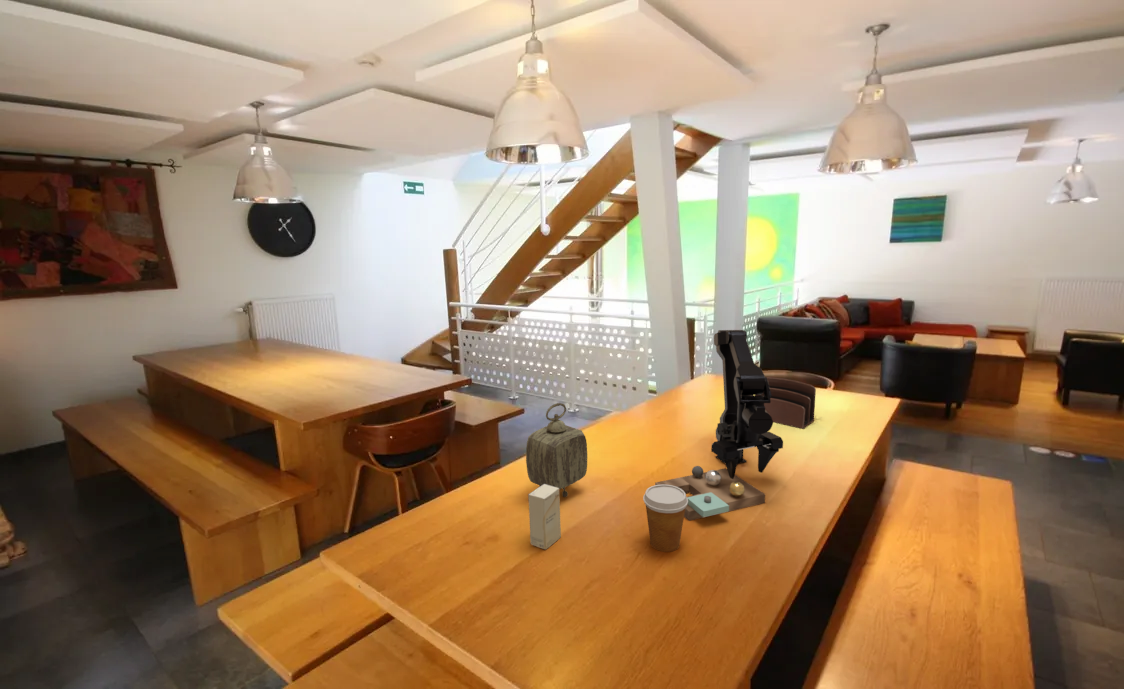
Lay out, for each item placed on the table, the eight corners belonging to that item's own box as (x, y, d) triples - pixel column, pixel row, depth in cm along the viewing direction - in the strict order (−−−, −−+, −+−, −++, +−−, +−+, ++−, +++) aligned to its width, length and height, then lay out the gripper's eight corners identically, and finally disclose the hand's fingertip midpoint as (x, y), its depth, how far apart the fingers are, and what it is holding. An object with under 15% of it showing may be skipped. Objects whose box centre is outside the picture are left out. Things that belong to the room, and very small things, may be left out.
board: (725, 476, 147) (725, 468, 146) (764, 502, 132) (765, 494, 131) (655, 490, 140) (655, 482, 139) (688, 520, 125) (689, 511, 124)
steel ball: (714, 480, 139) (715, 466, 139) (724, 486, 136) (724, 472, 135) (701, 483, 138) (702, 468, 137) (710, 489, 134) (711, 475, 134)
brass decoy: (738, 491, 133) (738, 478, 133) (747, 497, 130) (748, 484, 129) (726, 493, 132) (726, 480, 131) (735, 500, 129) (735, 486, 128)
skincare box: (545, 550, 115) (543, 499, 112) (529, 544, 117) (527, 494, 115) (561, 536, 120) (560, 487, 117) (545, 531, 122) (544, 482, 120)
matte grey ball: (699, 473, 144) (699, 463, 143) (705, 478, 141) (705, 467, 140) (689, 475, 143) (689, 465, 142) (695, 480, 140) (696, 469, 139)
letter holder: (759, 410, 199) (761, 374, 196) (814, 422, 186) (817, 383, 183) (747, 417, 192) (749, 379, 190) (803, 430, 179) (806, 390, 176)
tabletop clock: (566, 479, 147) (564, 394, 142) (590, 490, 141) (589, 401, 136) (527, 498, 138) (523, 407, 132) (551, 510, 131) (548, 415, 126)
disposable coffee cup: (689, 535, 119) (690, 486, 116) (684, 560, 110) (685, 507, 108) (647, 528, 122) (647, 481, 120) (639, 552, 113) (639, 501, 111)
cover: (711, 497, 130) (711, 488, 130) (728, 511, 124) (729, 501, 123) (686, 503, 128) (686, 493, 127) (703, 517, 122) (703, 507, 121)
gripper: (757, 405, 147) (754, 457, 151) (699, 414, 141) (698, 468, 144) (786, 418, 137) (782, 473, 140) (725, 428, 131) (723, 486, 134)
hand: (746, 475), depth 140 cm, fingers open, 9 cm apart
